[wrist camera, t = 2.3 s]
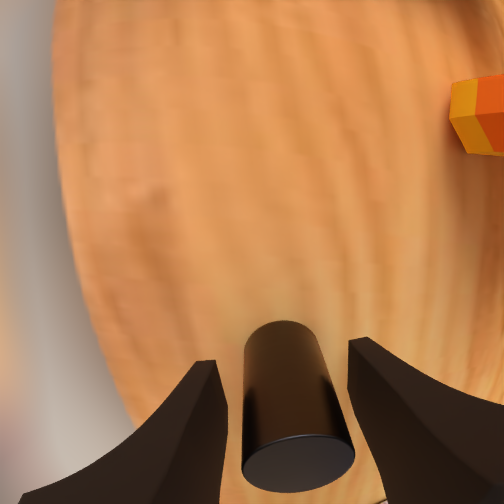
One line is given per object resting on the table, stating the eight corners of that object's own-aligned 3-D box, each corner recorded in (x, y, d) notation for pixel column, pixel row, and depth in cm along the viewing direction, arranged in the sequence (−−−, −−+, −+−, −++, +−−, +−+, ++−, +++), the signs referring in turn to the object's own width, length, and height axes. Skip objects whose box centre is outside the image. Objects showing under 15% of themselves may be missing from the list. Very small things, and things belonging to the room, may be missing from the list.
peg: (273, 390, 11) (284, 502, 6) (228, 347, 10) (216, 465, 5) (331, 354, 10) (372, 463, 6) (290, 305, 10) (320, 417, 5)
